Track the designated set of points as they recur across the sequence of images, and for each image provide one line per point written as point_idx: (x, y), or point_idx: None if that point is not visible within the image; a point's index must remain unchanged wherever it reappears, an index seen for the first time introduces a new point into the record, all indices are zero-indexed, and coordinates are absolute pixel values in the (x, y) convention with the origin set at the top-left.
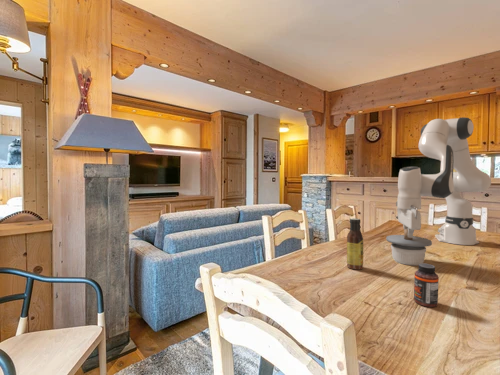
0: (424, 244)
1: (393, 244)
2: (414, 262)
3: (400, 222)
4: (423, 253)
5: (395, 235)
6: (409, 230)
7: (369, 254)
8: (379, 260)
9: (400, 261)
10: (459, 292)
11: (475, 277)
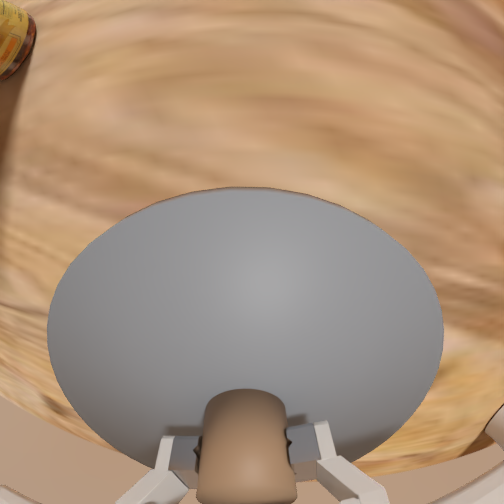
0: (126, 452)
1: None
2: None
3: (464, 490)
4: None
5: (414, 313)
6: (124, 501)
7: (319, 57)
8: (182, 122)
9: None
10: (7, 370)
11: None
